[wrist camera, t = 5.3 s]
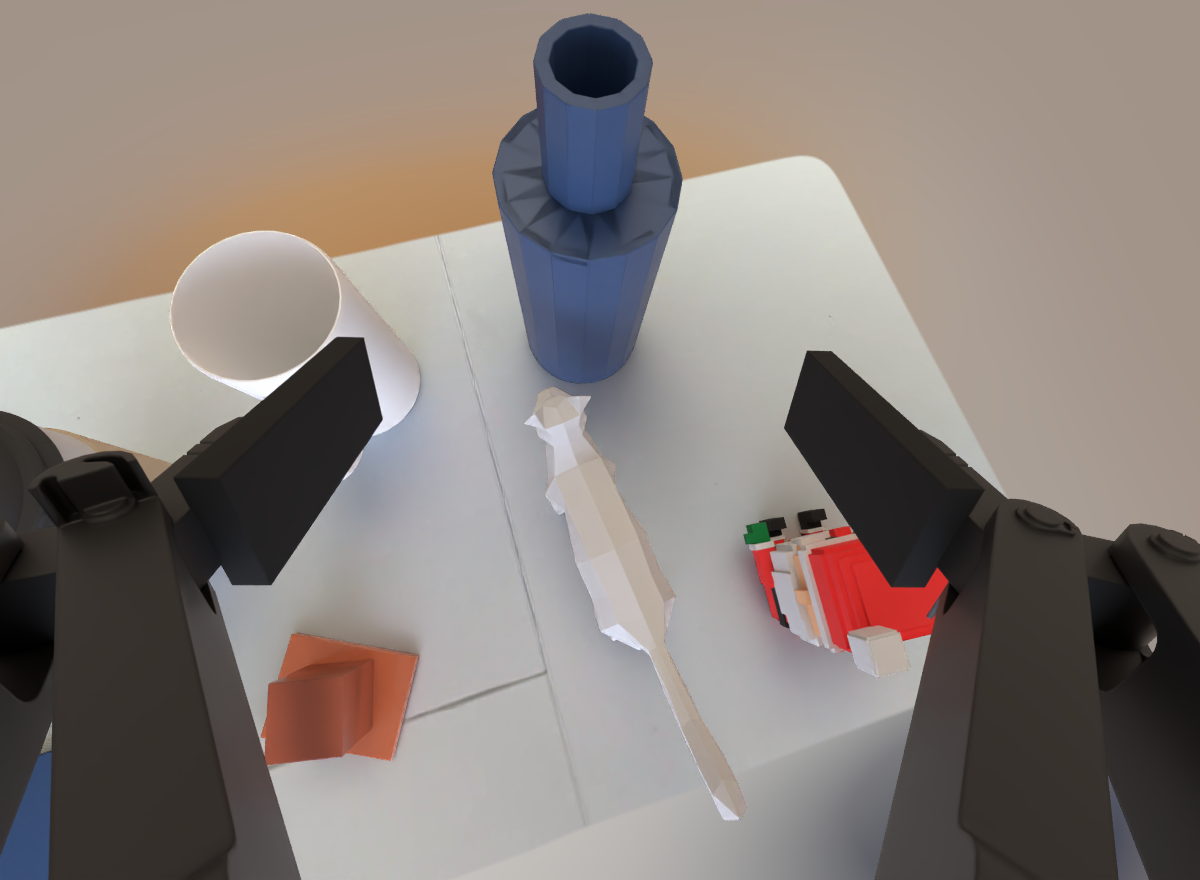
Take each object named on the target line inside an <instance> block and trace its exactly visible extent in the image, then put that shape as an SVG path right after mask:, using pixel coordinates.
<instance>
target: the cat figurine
mask: <svg viewBox="0 0 1200 880" xmlns="http://www.w3.org/2000/svg"><path fill="white" fill-rule="evenodd" d="M590 398H591V396H575V397H573V396H571V395H569V394H567V393H565V392H563V391H562V390H560V389H558V388H556V387H551V388H547V389H545V390H543V391H541V392H539V395H538V398H537V401H536V405H535V408H534V411H533V415H532V416H531V417H530V418H529V419H528V420H527V421H526V422H524V424H528V425H531V426H534V427H535V429H536V432H537V435H538V437H540V438H541V439H543V440H544V441H546V442H547V448H546V460H547V470H548V481H547V487H546V493H545V495H546V497H547V498H548V500H549V501H550V503H551V504H552V508H553V509H554V510H555V511H556V512H557V513H558V514H562V513H564V512H565V516H566V521H567V525H568V530H569V534H570V539H571V544H572V548H573V553H574V557H575V562H576V565H577V567H578V570H579V572H580V574H581V576H582V578H583V581H584V583H585V585H586V587H587V589H588V592H589V594H590V596H591V598H592V602H593V607H594V615H595V618H596V620H597V623H598V626H599V629H600V631H601V632H603V633H605V634H607V635H609V636H610V638H611V640H612V642H613V641H615V640H619V641H621V642H623V643H625V644H627V645H629V646H631V647H633V648H635V649H637V650H640V649H643V650H644V651H646V652H647V653H648V654H649V655H650V658H651V660H652V663H653V665H654V668H655V670H656V673H657V676H658V678H659V681H660V683H661V686H662V688H663V691H664V694H665V696H666V699H667V701H668V703H669V705H670V708H671V710H672V712H673V714H674V716H675V719H676V721H677V723H678V725H679V728H680V730H681V732H682V734H683V736H684V739H685V741H686V743H687V745H688V747H689V750H690V752H691V754H692V756H693V758H694V760H695V762H696V765H697V767H698V769H699V771H700V773H701V775H702V777H703V780H704V782H705V784H706V786H707V788H708V790H709V792H710V794H711V796H712V798H713V800H714V802H715V804H716V806H717V808H718V810H719V812H720V814H721V816H722V818H723V820H741V818H742V816H743V814H744V812H745V810H746V808H747V806H746V803H745V801H744V798H743V796H742V793H741V791H740V788H739V785H738V783H737V780H736V778H735V776H734V774H733V772H732V770H731V768H730V766H729V764H728V762H727V760H726V759H725V757H724V755H723V753H722V751H721V750H720V748H719V746H718V745H717V743H716V741H715V740H714V738H713V736H712V735H711V733H710V732H709V730H708V728H707V727H706V725H705V723H704V722H703V720H702V718H701V717H700V715H699V713H698V711H697V709H696V706H695V704H694V702H693V700H692V698H691V696H690V694H689V692H688V690H687V688H686V686H685V684H684V682H683V680H682V678H681V676H680V674H679V672H678V670H677V668H676V666H675V664H674V662H673V660H672V658H671V656H670V654H669V653H668V651H667V649H666V647H665V636H666V632H667V628H668V625H669V621H670V617H671V613H672V609H673V605H674V601H675V598H676V595H675V594H674V592H673V590H672V588H671V587H670V585H669V583H668V582H667V580H666V578H665V577H664V575H663V573H662V572H661V570H660V568H659V566H658V564H657V561H656V558H655V556H654V553H653V551H652V548H651V546H650V543H649V540H648V538H647V535H646V533H645V531H644V530H643V528H642V527H641V525H640V524H639V522H638V521H637V519H636V518H635V516H634V515H633V513H632V512H631V510H630V509H629V507H628V506H627V504H626V503H625V501H624V500H623V498H622V497H621V495H620V494H619V492H618V491H617V489H616V487H615V465H614V464H613V463H612V462H610V461H609V460H607V459H606V458H604V457H603V456H601V455H600V453H599V451H598V449H597V447H596V446H595V444H594V442H593V440H592V438H591V437H590V435H589V434H588V433H587V432H586V431H585V430H584V427H585V423H586V419H587V416H586V414H585V411H584V408H585V406H586V405H587V403H588V401H589V400H590Z"/></svg>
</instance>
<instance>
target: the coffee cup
mask: <svg viewBox="0 0 1200 880" xmlns="http://www.w3.org/2000/svg"><path fill="white" fill-rule="evenodd" d="M102 451H124V452H128V453H132V454H133V455H134V456H135V458H136V459H137V460H138V462H139V464H140V465H141V467H142V469H143V470H144V472H145V474H146V476H147V477H148V479H149V481H150V482H152V481H153V480H154V479H155V478H156V477H158V476H159V475H160V474H161V473H162V472H164V471H165V470H166V469H167V468H168V467H170V466H171V465H172V464H170V463H167V462H165V461H161V460H158V459H155V458H152V457H149V456H145V455H142V454H139V453H136V452H132V451H129V450H126V449H123V448H119V447H116V446H113V445H110V444H106V443H103V442H100V441H97V440H93V439H90V438H87V437H84V436H81V435H77V434H74V433H71V432H67V431H64V430H59V429H52V428H41V427H38V426H35V425H34V424H32V423H31V422H29V421H27V420H25V419H23V418H21V417H19V416H16V415H13V414H11V413H7V412H3V411H0V516H1V517H2V518H3V519H5V521H6V522H7V523H8V524H9V525H10V527H11V528H12V529H13V530H14V531H15V532H16V533H19V532H25V531H31V530H37V529H42V528H48V527H54V526H55V524H54V523H53V522H52V521H51V519H50V518H49V517H48V515H47V514H46V513H45V512H44V510H43V509H42V508H41V506H40V505H39V504H38V502H37V501H36V500H35V499H34V497H33V496H32V495H31V493H30V492H29V491H28V490H27V488H28V487H29V485H30V483H31V482H32V480H33V479H34V478H36V477H37V476H39V475H40V474H41V473H43V472H44V471H45V470H47V469H49V468H52V467H54V466H56V465H58V464H60V463H62V462H64V461H67V460H70V459H73V458H76V457H80V456H83V455H87V454H92V453H97V452H102Z"/></svg>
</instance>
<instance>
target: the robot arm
mask: <svg viewBox="0 0 1200 880" xmlns="http://www.w3.org/2000/svg"><path fill="white" fill-rule="evenodd" d="M382 420H383V417H382V413H381V408H380V404H379V400H378V396H377V391H376V387H375V383H374V379H373V374H372V370H371V366H370V362H369V357H368V353H367V349H366V344H365V340H364V337H336V338H334V339H333V340H332V341H331V342H330V343H329V344H327V345H326V346H325V347H324V348H323V349H322V350H321V351H319V352H318V353H317V354H316V355H315V356H314V357H312V358H311V359H310V360H309V361H308V362H307V363H305V364H304V365H303V366H302V367H301V368H300V369H298V370H297V371H296V372H295V373H294V374H293V375H291V376H290V377H289V378H288V379H287V380H286V381H285V382H283V383H282V384H281V385H280V386H279V387H278V388H276V389H275V390H274V391H273V392H272V393H271V394H269V395H268V396H267V397H266V398H265V399H264V400H262V401H261V402H260V403H259V404H258V405H257V406H255V407H254V408H253V409H252V410H251V411H250V412H248V413H247V414H246V415H245V416H244V417H238V418H236V419H234V420H232V421H230V422H228V423H226V424H223V425H221V426H219V427H217V428H216V429H214V430H213V431H212V432H211V433H210V434H208V435H207V436H206V437H205V438H204V439H202V440H201V441H200V444H196V445H195V446H194V447H193V448H191V449H190V450H189V451H188V452H187V455H183V456H182V457H181V458H179V459H178V460H177V461H176V462H174V463H173V464H172V465H171V466H170V467H168V468H167V469H166V470H165V471H164V472H162V473H161V474H160V475H159V476H158V477H156V478H155V479H154V480H153V481H152V482H150V481H149V479H148V477H147V476H146V474H145V472H144V470H143V469H142V467H141V465H140V464H139V462H138V460H137V459H136V458H135V456H134V455H133V454H132V453H128V452H124V451H102V452H97V453H92V454H87V455H83V456H80V457H76V458H73V459H70V460H67V461H64V462H62V463H60V464H58V465H56V466H54V467H52V468H49V469H47V470H45V471H44V472H43V473H41V474H40V475H39V476H37V477H36V478H34V479H33V480H32V482H31V483H30V485H29V487H28V488H27V490H28V491H29V492H30V493H31V495H32V496H33V497H34V499H35V500H36V501H37V502H38V504H39V505H40V506H41V508H42V509H43V510H44V512H45V513H46V514H47V515H48V517H49V518H50V519H51V521H52V522H53V523H54V524H55V526H54V527H48V528H42V529H37V530H31V531H25V532H19V533H16V532H15V531H14V530H13V529H12V528H11V527H10V525H9V524H8V523H7V522H6V521H5V519H3V518H2V517H1V516H0V855H1V853H2V850H3V848H4V845H5V842H6V840H7V837H8V835H9V832H10V829H11V827H12V824H13V821H14V819H15V816H16V814H17V811H18V808H19V806H20V803H21V801H22V798H23V795H24V793H25V790H26V788H27V785H28V782H29V780H30V777H31V774H32V772H33V769H34V767H35V764H36V761H37V759H38V756H39V754H40V751H41V748H42V746H43V743H44V740H45V738H46V735H47V733H48V730H49V727H50V725H51V722H52V754H51V794H50V834H49V874H48V880H301V877H300V874H299V871H298V867H297V864H296V861H295V857H294V854H293V851H292V847H291V844H290V841H289V837H288V834H287V830H286V827H285V824H284V820H283V817H282V814H281V810H280V807H279V804H278V800H277V797H276V794H275V790H274V787H273V784H272V780H271V777H270V774H269V770H268V767H267V764H266V760H265V757H264V754H263V750H262V747H261V743H260V740H259V737H258V733H257V730H256V727H255V723H254V720H253V717H252V713H251V710H250V707H249V703H248V700H247V697H246V693H245V690H244V687H243V683H242V680H241V677H240V673H239V670H238V667H237V663H236V660H235V656H234V653H233V650H232V646H231V643H230V640H229V636H228V633H227V630H226V626H225V623H224V620H223V616H222V613H221V610H220V606H219V603H218V600H217V596H216V593H215V591H214V589H213V587H212V586H211V584H210V582H209V581H208V580H209V579H210V578H211V576H212V575H213V574H214V573H215V572H216V570H217V569H218V568H219V567H220V565H221V566H222V567H223V569H224V571H225V573H226V575H227V576H228V578H229V580H230V582H231V584H232V585H272V583H273V582H274V580H275V579H276V577H277V576H278V574H279V573H280V571H281V570H282V568H283V567H284V565H285V564H286V563H287V561H288V560H289V558H290V557H291V555H292V554H293V552H294V551H295V549H296V548H297V546H298V545H299V543H300V542H301V540H302V539H303V537H304V536H305V534H306V533H307V531H308V530H309V528H310V527H311V526H312V524H313V523H314V521H315V520H316V518H317V517H318V515H319V514H320V512H321V511H322V509H323V508H324V506H325V505H326V503H327V502H328V500H329V499H330V497H331V496H332V494H333V493H334V491H335V490H336V488H337V487H338V486H339V484H340V483H341V481H342V480H343V478H344V477H345V475H346V474H347V472H348V471H349V469H350V468H351V466H352V465H353V463H354V462H355V460H356V459H357V457H358V456H359V454H360V453H361V451H362V450H363V449H364V447H365V446H366V444H367V443H368V441H369V440H370V438H371V437H372V435H373V434H374V432H375V431H376V429H377V428H378V426H379V425H380V423H381V422H382ZM784 429H785V430H786V432H787V433H788V435H789V436H790V438H791V439H792V441H793V442H794V444H795V445H796V447H797V448H798V450H799V451H800V453H801V454H802V456H803V457H804V458H805V460H806V461H807V463H808V464H809V466H810V467H811V469H812V470H813V472H814V473H815V475H816V476H817V478H818V479H819V481H820V482H821V484H822V485H823V487H824V488H825V490H826V491H827V493H828V494H829V496H830V497H831V499H832V500H833V502H834V503H835V505H836V506H837V508H838V509H839V511H840V512H841V514H842V515H843V517H844V518H845V519H846V521H847V522H848V524H849V525H850V527H851V528H852V530H853V531H854V533H855V534H856V536H857V537H858V539H859V540H860V542H861V543H862V545H863V546H864V548H865V549H866V551H867V552H868V554H869V555H870V557H871V558H872V560H873V561H874V563H875V564H876V566H877V567H878V569H879V570H880V572H881V573H882V575H883V576H884V578H885V579H886V581H887V582H888V583H889V585H890V586H891V587H902V588H925V587H926V585H927V583H928V582H929V580H930V578H931V577H932V575H933V574H934V572H935V570H936V569H937V568H938V569H939V570H940V571H941V572H942V574H943V575H944V576H945V577H946V579H947V580H948V581H949V582H948V583H947V585H946V586H945V588H944V589H943V591H942V593H941V594H940V596H939V597H938V599H937V600H936V602H935V603H934V605H933V606H932V608H931V609H930V611H929V612H928V614H927V616H926V617H928V618H930V619H932V618H933V617H934V616H935V615H936V616H935V621H934V625H933V629H932V634H931V638H930V642H929V647H928V651H927V655H926V660H925V664H924V668H923V672H922V677H921V681H920V685H919V690H918V694H917V698H916V703H915V707H914V711H913V716H912V720H911V724H910V729H909V733H908V737H907V742H906V746H905V750H904V755H903V759H902V763H901V768H900V772H899V776H898V781H897V785H896V789H895V793H894V798H893V802H892V807H891V811H890V815H889V820H888V824H887V828H886V832H885V837H884V841H883V845H882V850H881V854H880V858H879V862H878V867H877V871H876V876H875V880H1118V871H1117V861H1116V852H1115V841H1114V831H1113V822H1112V813H1111V803H1110V793H1109V784H1108V776H1109V779H1110V781H1111V784H1112V786H1113V789H1114V791H1115V794H1116V797H1117V799H1118V802H1119V804H1120V807H1121V809H1122V812H1123V814H1124V817H1125V819H1126V822H1127V825H1128V827H1129V830H1130V832H1131V835H1132V837H1133V840H1134V842H1135V845H1136V848H1137V850H1138V853H1139V855H1140V858H1141V860H1142V863H1143V865H1144V868H1145V870H1146V873H1147V876H1148V878H1149V880H1200V544H1198V543H1197V541H1196V540H1194V539H1192V538H1190V537H1188V536H1186V535H1185V536H1183V534H1181V533H1179V532H1176V531H1174V530H1167V529H1164V528H1161V527H1158V526H1153V525H1147V524H1130V525H1129V526H1128V527H1127V528H1126V529H1125V530H1124V532H1123V533H1122V534H1121V535H1120V536H1119V537H1118V538H1117V539H1116V540H1115V541H1110V540H1105V539H1101V538H1096V537H1091V536H1086V535H1082V534H1081V532H1080V530H1079V528H1078V527H1077V526H1075V524H1073V523H1072V522H1071V521H1070V520H1069V519H1067V518H1066V517H1064V516H1063V515H1061V514H1059V513H1058V512H1056V511H1054V510H1052V509H1050V508H1047V507H1045V506H1043V505H1040V504H1037V503H1033V502H1030V501H1026V500H1020V499H1007V498H1006V497H1005V496H1004V495H1002V494H1001V493H1000V492H999V491H998V490H997V489H996V488H994V487H993V486H992V485H991V484H990V483H989V482H988V481H986V480H985V479H984V478H983V477H982V476H981V475H980V474H978V473H977V472H976V471H975V470H974V469H973V468H972V467H968V464H967V463H966V462H965V461H964V460H962V459H961V458H960V457H959V456H956V453H954V452H953V451H952V450H951V449H950V448H949V447H948V446H946V445H945V444H944V443H943V442H942V441H940V440H938V439H937V438H935V437H933V436H931V435H929V434H927V433H926V432H924V431H922V430H919V429H917V428H916V427H915V426H914V425H913V424H912V423H911V422H910V421H909V420H907V419H906V418H905V417H904V416H903V415H902V414H901V413H900V412H899V411H897V410H896V409H895V408H894V407H893V406H892V405H891V404H890V403H889V402H887V401H886V400H885V399H884V398H883V397H882V396H881V395H880V394H879V393H877V392H876V391H875V390H874V389H873V388H872V387H871V386H870V385H868V384H867V383H866V382H865V381H864V380H863V379H862V378H861V377H860V376H858V375H857V374H856V373H855V372H854V371H853V370H852V369H851V368H850V367H848V366H847V365H846V364H845V363H844V362H843V361H842V360H841V359H840V358H838V357H837V356H836V355H835V354H834V353H833V352H832V351H807V353H806V356H805V359H804V363H803V366H802V369H801V373H800V376H799V379H798V383H797V386H796V389H795V393H794V396H793V399H792V403H791V406H790V410H789V413H788V416H787V420H786V423H785V426H784ZM1156 636H1157V644H1156V647H1155V650H1154V652H1153V653H1152V651H1151V650H1150V648H1149V646H1148V643H1150V641H1152V640H1153V639H1154V638H1155V637H1156Z"/></svg>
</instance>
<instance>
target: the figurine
mask: <svg viewBox="0 0 1200 880" xmlns="http://www.w3.org/2000/svg"><path fill="white" fill-rule="evenodd" d="M798 516H799V520H800V523H801V527H802V530H800V532H801V534H802V533H803V534H804V536H802V537H797V538H794V539H790V540H788V542H785V543H784V539H785V538H786V537H785V535H782V532H781V529H784V528H787V527H786V524H785V520H784V517H780V518H772V519H767V520H762V521H759V522H760V523H756V524H751V525H747V526H746V528H747V532H748V534H743V535H744V539H745V543H746V544H748V545H749V549H750V550H752V551H753V555H754V559H755V562H756V566H757V570H758V574H759V578H760V582H761V584H764V587H765V591H766V595H767V598H768V602H769V606H770V610H771V614H772V617H774V618H777V620H779V621H780V624H781V625H783V626H784V627H786V628H790V631H791V633H794V634H796V635H798V636H800V638H801V639H802V640H805V641H807V642H809V643H811V644H814V645H816V646H818V647H822V646H824V647H825V648H828V649H829V650H830V651H831V652H834V653H839V652H843V651H849V652H851V653H852V655H853V658H854V661H855V665H856V667H857V668H859V669H860V670H862V671H865V672H867V673H869V674H871V675H873V676H876V677H878V678H880V677H884V676H888V675H892V674H895V673H899V672H903V671H907V670H909V669H908V668H910V667H911V666H910V663H909V660H908V657H907V654H906V650H905V647H904V644H903V641H905V640H909V639H913V638H917V637H921V636H925V635H930V634H932V629H933V625H934V621H935V616H936V615H935V616H934V617H933V618H932V619H930V618H928V617H926V616H927V614H928V612H929V611H930V609H931V608H932V606H933V605H934V603H935V602H936V600H937V599H938V597H939V596H940V594H941V593H942V591H943V589H944V588H945V586H946V585H947V583H948V582H949V581H948V580H947V579H946V577H945V576H944V575H943V574H942V572H941V571H940V570H939V569H938V568H937V569H936V570H935V572H934V574H933V575H932V577H931V578H930V580H929V582H928V583H927V585H926V587H925V588H902V587H891V586H890V585H889V583H888V582H887V581H886V579H885V578H884V576H883V575H882V573H881V572H880V570H879V569H878V567H877V566H876V564H875V563H874V561H873V560H872V558H871V557H870V555H869V554H868V552H867V551H866V549H865V548H864V546H863V545H862V543H861V542H860V540H859V539H858V537H857V536H856V534H855V533H854V531H853V530H852V528H851V527H850V526H847V527H841V528H836V529H832V530H829V531H824V532H823V530H825V526H822V525H821V522H820V521H821V520H825V519H827V517H826V514H825V510H824V509H816V510H809V511H804V512H800V513H798Z"/></svg>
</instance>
